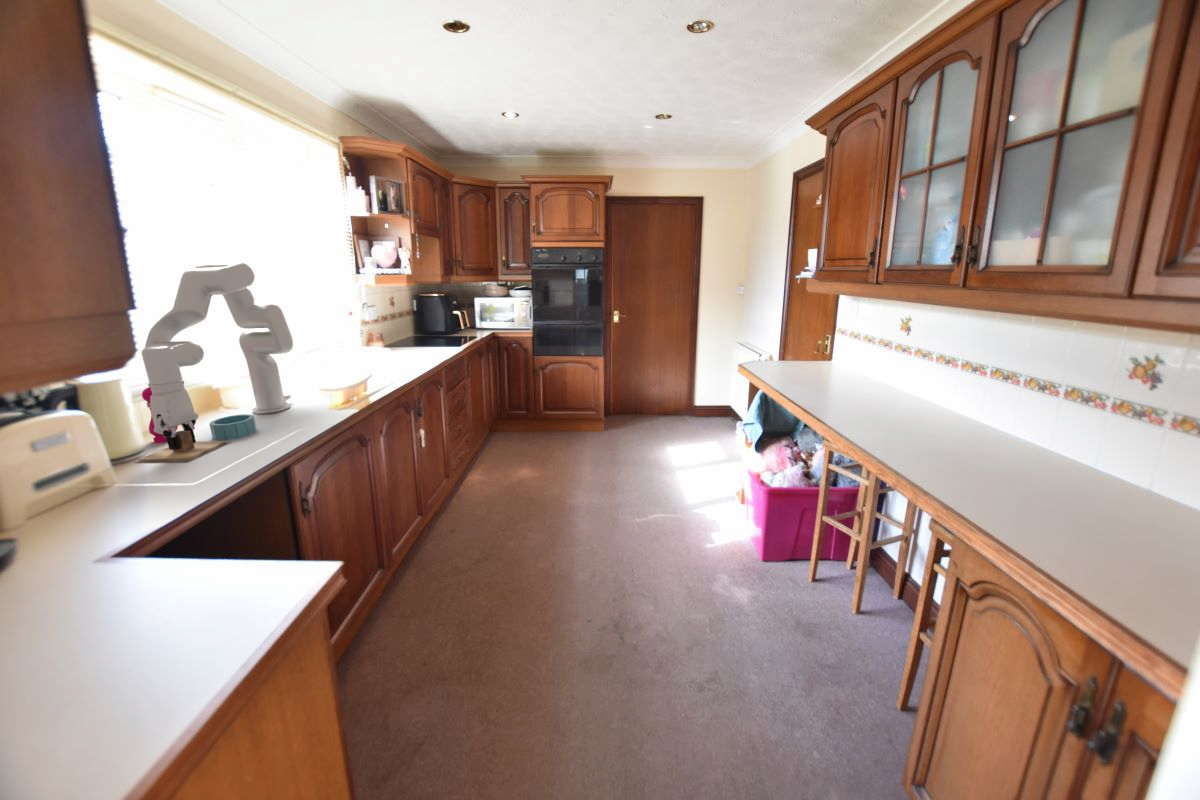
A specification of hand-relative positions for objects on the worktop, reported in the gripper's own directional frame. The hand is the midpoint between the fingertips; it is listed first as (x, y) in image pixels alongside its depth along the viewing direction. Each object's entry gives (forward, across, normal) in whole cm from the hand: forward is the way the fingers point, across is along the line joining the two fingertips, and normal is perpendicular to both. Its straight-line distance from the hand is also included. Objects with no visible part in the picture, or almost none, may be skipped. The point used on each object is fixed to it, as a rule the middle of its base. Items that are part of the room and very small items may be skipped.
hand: (182, 445), depth 157 cm
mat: (+3, 0, 0) cm, 3 cm away
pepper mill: (+3, -12, -17) cm, 21 cm away
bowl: (+3, -17, +3) cm, 17 cm away
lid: (+2, 0, 0) cm, 2 cm away
